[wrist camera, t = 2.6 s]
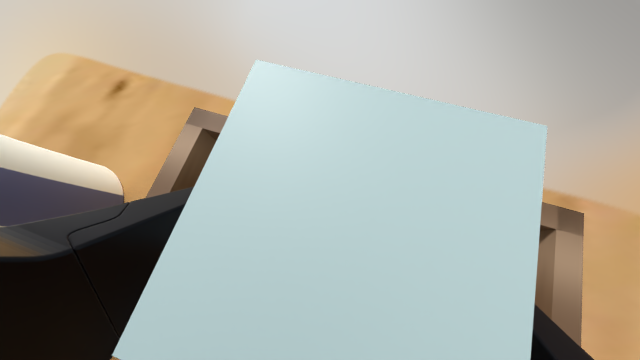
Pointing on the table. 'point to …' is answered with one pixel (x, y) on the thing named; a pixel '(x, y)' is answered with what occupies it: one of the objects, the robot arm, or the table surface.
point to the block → (350, 232)
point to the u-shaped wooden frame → (554, 239)
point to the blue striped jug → (50, 184)
